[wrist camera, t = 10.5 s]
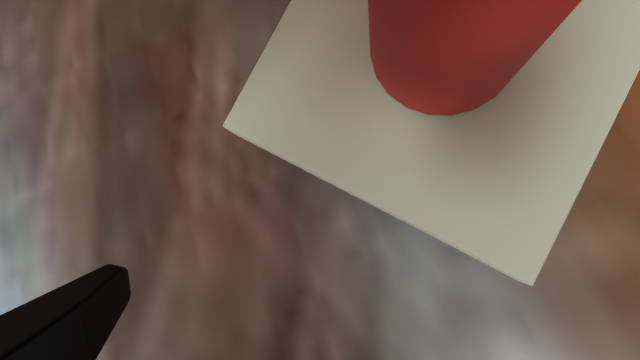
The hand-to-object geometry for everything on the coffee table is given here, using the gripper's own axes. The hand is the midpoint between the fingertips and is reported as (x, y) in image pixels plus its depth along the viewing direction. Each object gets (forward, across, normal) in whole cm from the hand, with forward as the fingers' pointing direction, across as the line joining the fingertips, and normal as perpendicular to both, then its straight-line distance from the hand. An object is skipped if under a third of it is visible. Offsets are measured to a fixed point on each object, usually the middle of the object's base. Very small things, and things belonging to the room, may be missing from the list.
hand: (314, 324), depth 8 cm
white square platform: (+16, -4, -2) cm, 17 cm away
